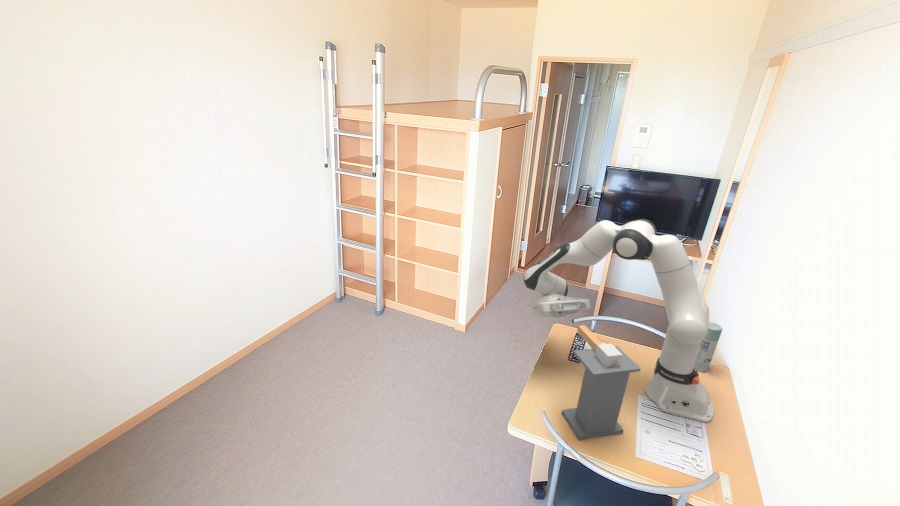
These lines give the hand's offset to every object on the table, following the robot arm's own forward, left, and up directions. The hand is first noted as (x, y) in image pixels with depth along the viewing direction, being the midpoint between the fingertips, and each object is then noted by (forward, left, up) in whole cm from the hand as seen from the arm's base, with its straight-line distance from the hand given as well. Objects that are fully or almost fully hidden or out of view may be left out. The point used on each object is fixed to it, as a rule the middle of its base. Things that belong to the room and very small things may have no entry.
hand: (573, 305), depth 148 cm
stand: (-16, +16, -33) cm, 40 cm away
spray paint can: (-46, -42, -33) cm, 70 cm away
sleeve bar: (-12, +12, -7) cm, 18 cm away
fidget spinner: (-47, +14, -33) cm, 59 cm away
